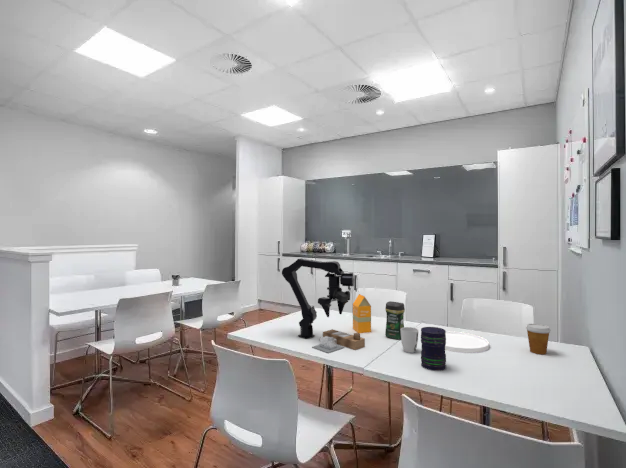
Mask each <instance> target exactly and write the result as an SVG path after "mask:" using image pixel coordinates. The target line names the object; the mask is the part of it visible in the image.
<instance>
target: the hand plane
mask: <svg viewBox="0 0 626 468" xmlns="http://www.w3.org/2000/svg"><path fill="white" fill-rule="evenodd" d="M325 336H328V337H333V338H334V339H337V345H339V346H342V347H344V348H348V349H351V350H353V351H356V350H359V349H363V348H365V347H366V339H365V338H364V337H361V333H357V332H354V333H353V334H351V333H350V334H349V333H347V332H344V331H341V330H336V329H333V328H332V329H329V330H325V331H322V337H325Z"/></svg>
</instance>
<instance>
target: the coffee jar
mask: <svg viewBox="0 0 626 468" xmlns="http://www.w3.org/2000/svg"><path fill="white" fill-rule="evenodd" d="M384 311H385V314H386V324H385V337H387V338H390V339H393V340H401V330H400V329H401V328H403V327H405V324H404V315H405V304H404V303H403V302H399V301H398V302H397V301H387V302H386V303H385V310H384Z"/></svg>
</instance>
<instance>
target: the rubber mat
mask: <svg viewBox="0 0 626 468" xmlns="http://www.w3.org/2000/svg"><path fill="white" fill-rule="evenodd" d="M311 348H312V349H315V350H318V351H320V352H323V353H326V354H331V353H333V352H336V351H339V350H342V349H345V347H344V346H341V345H338V344H337V348H334V349H331V350H329V349H326V348H323V347H320V344H317V345H313V346H311Z"/></svg>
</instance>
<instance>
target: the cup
mask: <svg viewBox="0 0 626 468" xmlns="http://www.w3.org/2000/svg"><path fill="white" fill-rule="evenodd" d="M400 330H401V339H400V340H401V346H402V348H403V351H404V352H405V353H408V354H409V353H410V354H413V353H416V350H417V347H418V342H419V329H418V328H416V327H411V326H406V327H405V326H404V327H403V328H401V329H400Z"/></svg>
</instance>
